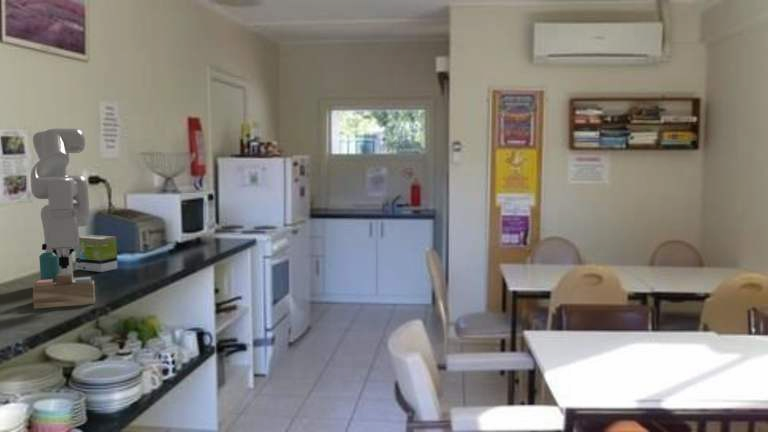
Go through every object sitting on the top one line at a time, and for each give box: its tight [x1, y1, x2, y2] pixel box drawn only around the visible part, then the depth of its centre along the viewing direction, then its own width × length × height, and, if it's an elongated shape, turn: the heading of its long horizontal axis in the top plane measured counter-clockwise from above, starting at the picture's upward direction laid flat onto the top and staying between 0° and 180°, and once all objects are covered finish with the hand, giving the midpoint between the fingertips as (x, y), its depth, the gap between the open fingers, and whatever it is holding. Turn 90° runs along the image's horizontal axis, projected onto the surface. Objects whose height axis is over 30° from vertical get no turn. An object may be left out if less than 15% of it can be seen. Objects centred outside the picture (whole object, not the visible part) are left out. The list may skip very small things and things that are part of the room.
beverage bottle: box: [39, 242, 60, 283], centre depth 248 cm, size 6×7×20 cm
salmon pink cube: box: [35, 279, 53, 287], centre depth 238 cm, size 5×5×5 cm
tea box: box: [74, 234, 118, 273], centre depth 310 cm, size 15×10×15 cm
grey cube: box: [75, 276, 92, 285], centre depth 242 cm, size 5×5×5 cm
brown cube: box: [56, 274, 72, 286], centre depth 239 cm, size 5×5×5 cm
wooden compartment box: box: [32, 280, 96, 309], centre depth 240 cm, size 7×19×7 cm, turn 109°
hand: (64, 268), depth 239 cm, fingers closed
